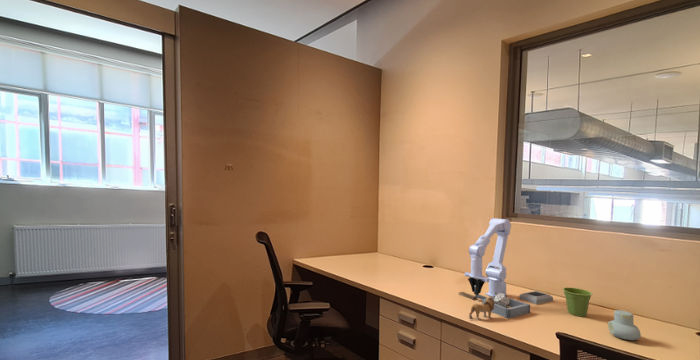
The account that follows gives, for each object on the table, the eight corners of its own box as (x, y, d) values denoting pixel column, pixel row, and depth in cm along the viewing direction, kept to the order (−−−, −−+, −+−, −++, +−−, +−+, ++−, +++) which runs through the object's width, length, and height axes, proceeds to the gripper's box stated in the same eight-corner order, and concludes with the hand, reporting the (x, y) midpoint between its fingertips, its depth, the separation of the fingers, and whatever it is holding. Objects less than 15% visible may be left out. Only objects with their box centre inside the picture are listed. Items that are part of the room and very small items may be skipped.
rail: (462, 293, 178) (462, 291, 178) (477, 299, 169) (477, 296, 169) (458, 294, 177) (459, 292, 177) (473, 299, 168) (473, 297, 168)
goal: (503, 303, 163) (503, 296, 163) (530, 312, 151) (530, 304, 151) (482, 308, 155) (482, 300, 155) (508, 318, 143) (508, 309, 143)
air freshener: (642, 345, 120) (642, 319, 120) (615, 340, 123) (615, 315, 124) (631, 334, 130) (631, 310, 130) (606, 330, 133) (606, 306, 134)
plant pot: (557, 311, 154) (557, 288, 155) (572, 308, 159) (572, 286, 159) (582, 320, 143) (582, 295, 144) (598, 317, 148) (597, 293, 149)
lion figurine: (488, 313, 148) (488, 294, 148) (497, 318, 143) (497, 298, 144) (465, 318, 142) (465, 298, 142) (474, 322, 137) (475, 302, 137)
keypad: (519, 292, 173) (535, 290, 179) (519, 299, 172) (535, 296, 179) (536, 298, 164) (553, 294, 171) (536, 305, 164) (553, 301, 171)
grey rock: (505, 317, 154) (516, 305, 149) (488, 310, 155) (499, 297, 150) (503, 303, 161) (513, 291, 156) (487, 296, 163) (497, 284, 157)
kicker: (481, 296, 172) (481, 283, 172) (499, 303, 162) (499, 288, 163) (467, 299, 167) (467, 285, 167) (485, 306, 157) (485, 291, 157)
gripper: (460, 265, 173) (460, 289, 173) (483, 270, 161) (482, 297, 160) (469, 264, 177) (469, 288, 176) (491, 269, 164) (491, 295, 163)
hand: (476, 292), depth 168 cm, fingers closed on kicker, 2 cm apart
